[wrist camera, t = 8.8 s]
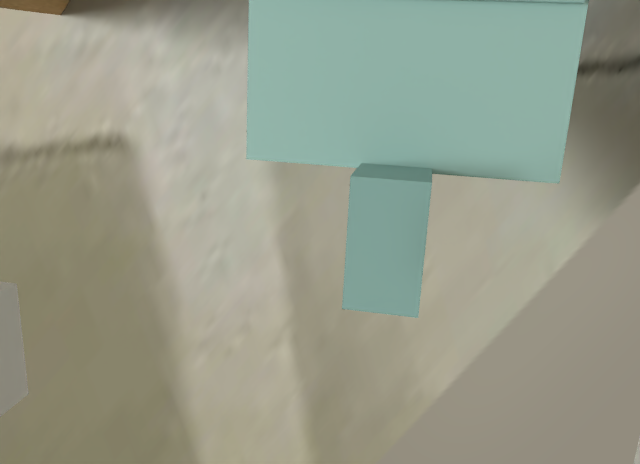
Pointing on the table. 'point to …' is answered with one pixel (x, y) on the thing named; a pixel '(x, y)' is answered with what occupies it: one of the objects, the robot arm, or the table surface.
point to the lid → (410, 110)
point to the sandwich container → (36, 5)
